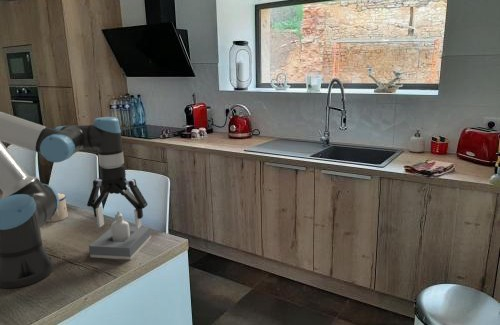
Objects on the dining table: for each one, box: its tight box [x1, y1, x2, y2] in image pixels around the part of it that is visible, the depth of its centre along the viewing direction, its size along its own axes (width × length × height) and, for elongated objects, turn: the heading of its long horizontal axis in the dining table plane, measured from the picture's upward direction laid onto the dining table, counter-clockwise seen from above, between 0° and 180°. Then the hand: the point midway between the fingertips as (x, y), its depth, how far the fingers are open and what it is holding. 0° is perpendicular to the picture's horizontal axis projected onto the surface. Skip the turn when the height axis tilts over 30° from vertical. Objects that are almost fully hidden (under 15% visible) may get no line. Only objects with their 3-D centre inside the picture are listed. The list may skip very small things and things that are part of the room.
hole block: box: [88, 225, 152, 261], centre depth 130 cm, size 16×14×4 cm
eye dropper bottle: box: [110, 210, 130, 242], centre depth 129 cm, size 4×6×12 cm
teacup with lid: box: [46, 192, 69, 223], centre depth 155 cm, size 12×9×12 cm
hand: (119, 226), depth 129 cm, fingers open, 13 cm apart
